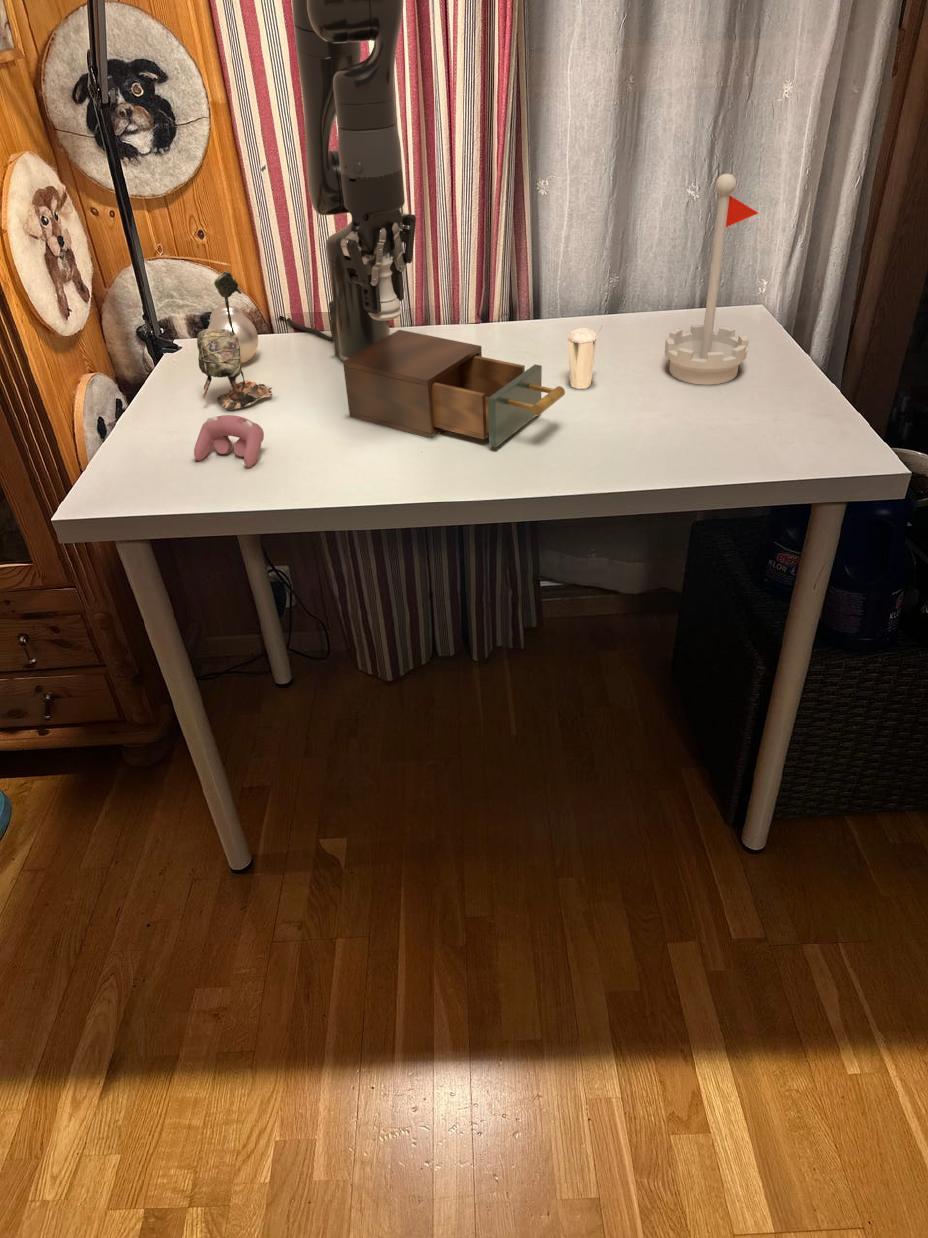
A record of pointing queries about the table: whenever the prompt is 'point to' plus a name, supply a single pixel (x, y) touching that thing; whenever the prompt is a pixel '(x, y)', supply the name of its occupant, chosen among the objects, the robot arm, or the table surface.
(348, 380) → the cabinet
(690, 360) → the flag stand
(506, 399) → the drawer
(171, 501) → the table surface
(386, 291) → the rook chess piece
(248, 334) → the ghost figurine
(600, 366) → the table surface
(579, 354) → the milkshake
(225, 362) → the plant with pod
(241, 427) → the video game controller
